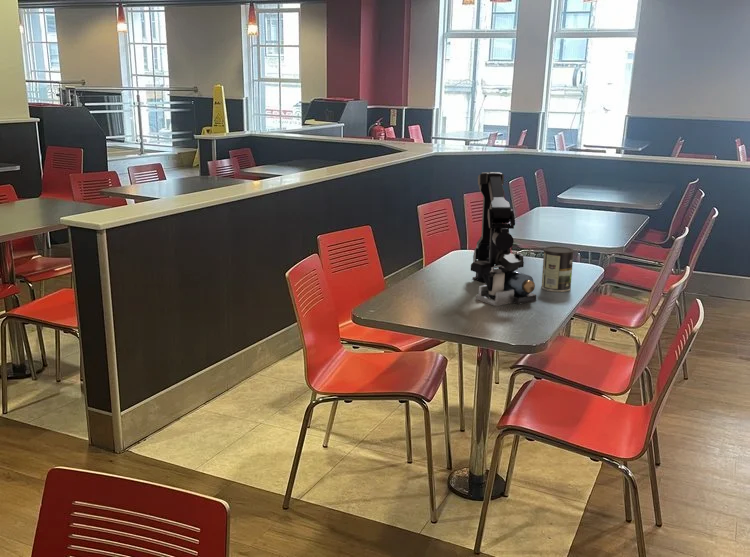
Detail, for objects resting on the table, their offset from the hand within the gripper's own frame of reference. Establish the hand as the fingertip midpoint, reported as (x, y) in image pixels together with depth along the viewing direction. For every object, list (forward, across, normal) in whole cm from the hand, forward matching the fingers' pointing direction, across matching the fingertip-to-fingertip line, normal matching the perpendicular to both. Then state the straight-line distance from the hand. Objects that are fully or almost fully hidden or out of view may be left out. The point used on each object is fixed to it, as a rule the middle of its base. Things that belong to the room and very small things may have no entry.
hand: (496, 289), depth 230 cm
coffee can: (+4, +29, 0) cm, 29 cm away
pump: (+1, 0, 0) cm, 1 cm away
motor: (+4, +4, 0) cm, 5 cm away
